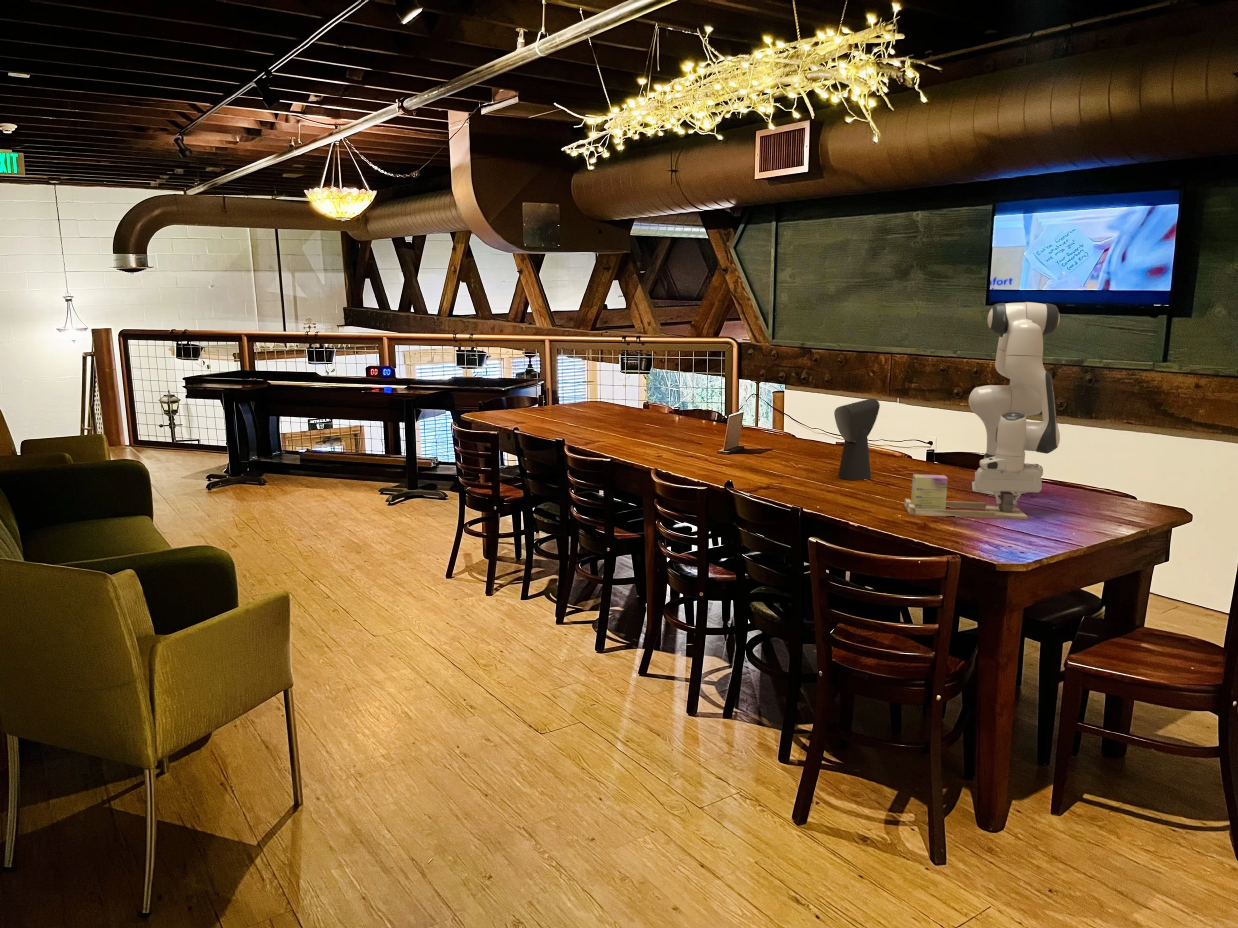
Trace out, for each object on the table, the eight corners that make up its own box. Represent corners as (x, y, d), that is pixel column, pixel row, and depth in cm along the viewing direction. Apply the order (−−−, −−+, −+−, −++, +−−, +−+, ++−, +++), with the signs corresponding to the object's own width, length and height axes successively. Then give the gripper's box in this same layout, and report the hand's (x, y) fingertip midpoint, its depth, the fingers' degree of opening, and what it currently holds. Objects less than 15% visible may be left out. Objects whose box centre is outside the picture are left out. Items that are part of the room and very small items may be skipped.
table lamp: (885, 491, 325) (889, 410, 320) (807, 488, 330) (810, 408, 325) (875, 471, 364) (879, 398, 358) (805, 468, 369) (808, 397, 363)
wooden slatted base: (904, 505, 303) (905, 485, 302) (1015, 509, 297) (1017, 488, 296) (910, 515, 290) (911, 494, 289) (1027, 519, 284) (1029, 498, 283)
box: (942, 509, 298) (944, 474, 296) (945, 513, 292) (948, 478, 290) (910, 508, 300) (912, 473, 298) (912, 512, 294) (915, 477, 292)
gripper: (1040, 462, 290) (1037, 503, 292) (974, 460, 293) (971, 501, 296) (1046, 465, 284) (1042, 507, 286) (978, 463, 287) (975, 505, 290)
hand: (1006, 504), depth 291 cm, fingers open, 3 cm apart
